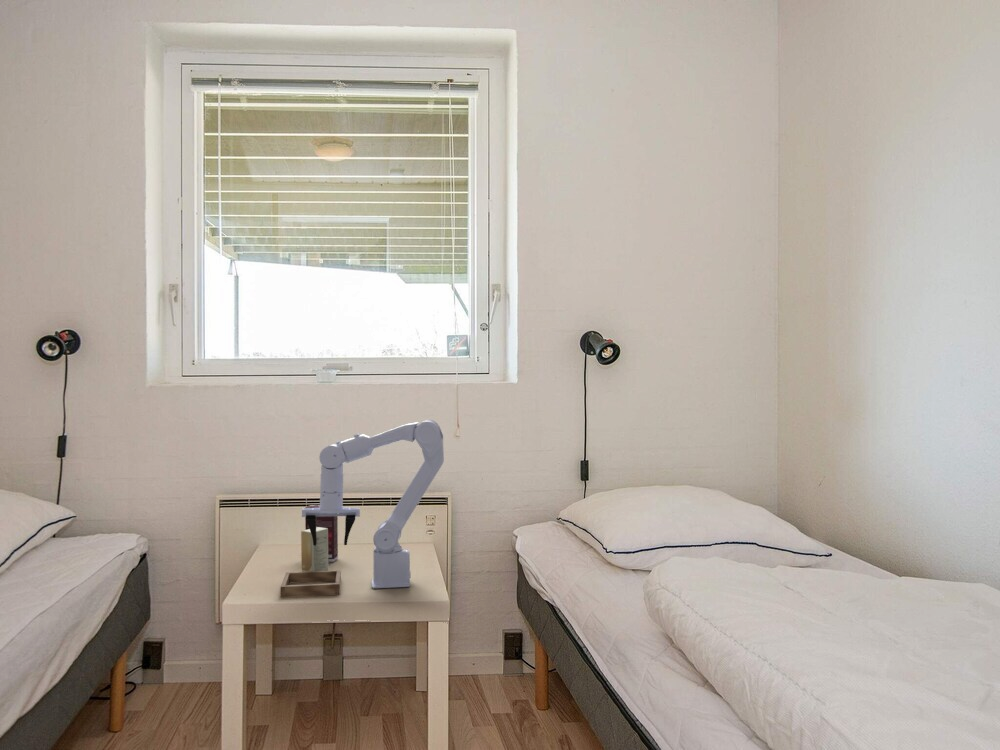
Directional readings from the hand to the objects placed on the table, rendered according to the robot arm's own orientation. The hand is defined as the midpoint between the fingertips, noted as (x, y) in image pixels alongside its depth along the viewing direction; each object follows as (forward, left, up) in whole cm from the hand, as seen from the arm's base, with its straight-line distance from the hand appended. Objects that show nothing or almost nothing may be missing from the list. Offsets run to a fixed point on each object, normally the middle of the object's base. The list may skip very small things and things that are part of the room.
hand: (330, 544), depth 197 cm
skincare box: (+5, -12, -11) cm, 17 cm away
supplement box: (+3, -28, -11) cm, 30 cm away
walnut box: (+4, +2, -10) cm, 12 cm away
